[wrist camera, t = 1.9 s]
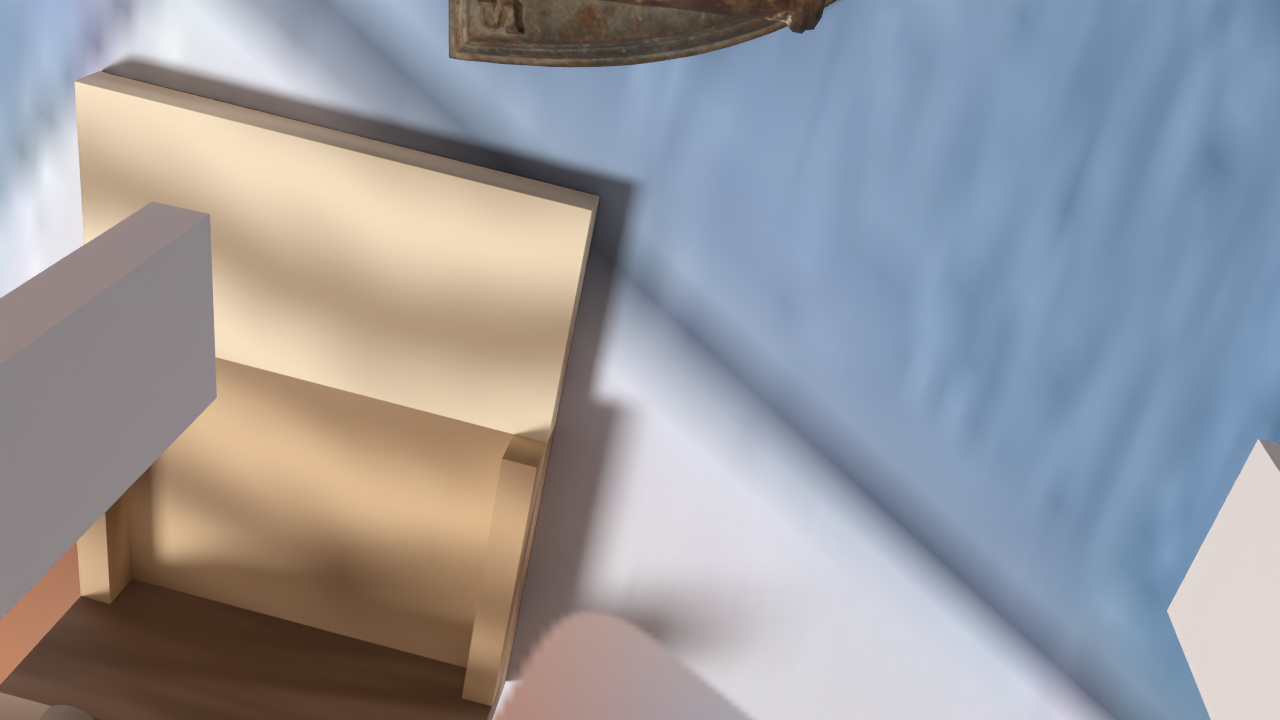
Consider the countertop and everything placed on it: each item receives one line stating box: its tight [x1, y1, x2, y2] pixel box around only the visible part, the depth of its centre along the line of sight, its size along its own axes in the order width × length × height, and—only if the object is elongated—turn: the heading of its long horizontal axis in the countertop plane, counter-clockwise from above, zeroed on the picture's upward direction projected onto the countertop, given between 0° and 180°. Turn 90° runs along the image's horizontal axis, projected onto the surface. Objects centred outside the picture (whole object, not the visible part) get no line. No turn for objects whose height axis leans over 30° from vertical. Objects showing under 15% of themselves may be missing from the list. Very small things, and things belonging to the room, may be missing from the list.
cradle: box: [0, 71, 600, 720], centre depth 32 cm, size 20×15×10 cm
